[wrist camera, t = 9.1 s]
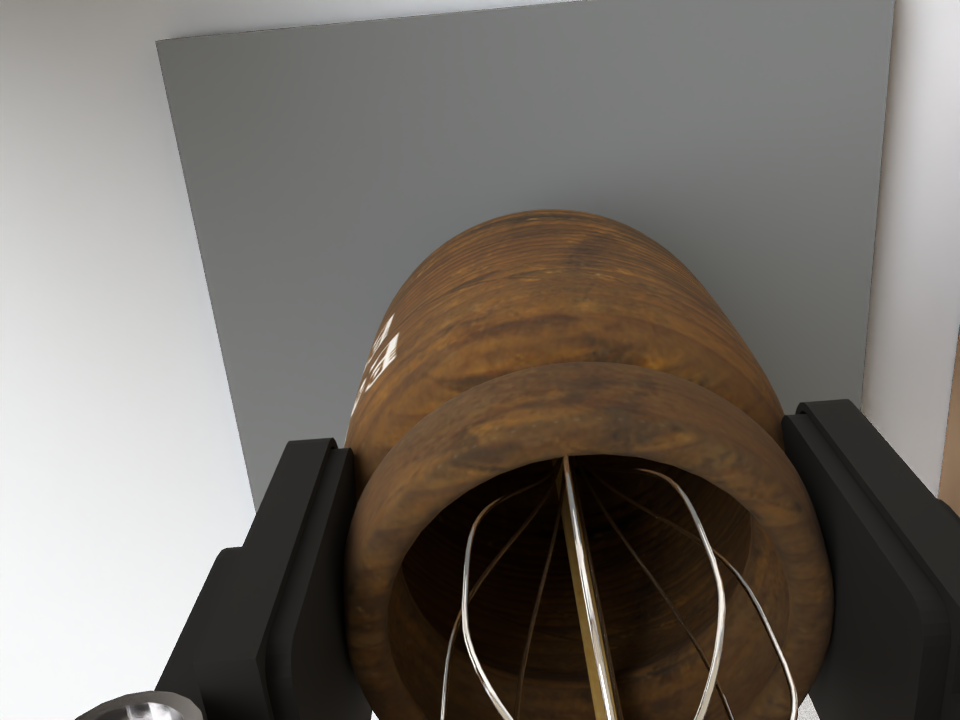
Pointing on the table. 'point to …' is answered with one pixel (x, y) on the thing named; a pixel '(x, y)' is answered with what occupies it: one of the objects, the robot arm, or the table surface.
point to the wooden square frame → (952, 445)
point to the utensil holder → (575, 493)
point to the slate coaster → (529, 174)
